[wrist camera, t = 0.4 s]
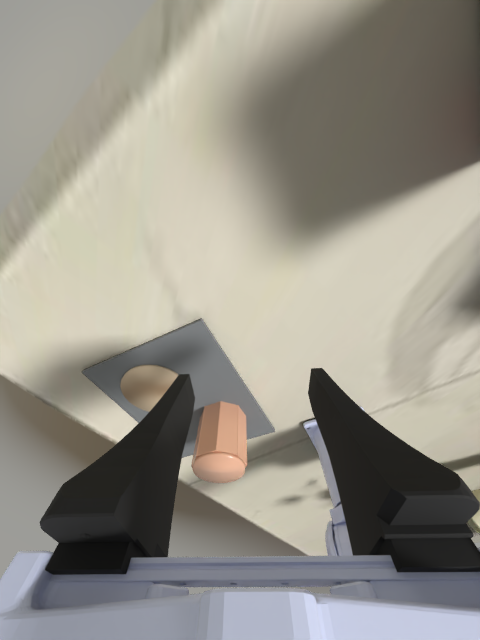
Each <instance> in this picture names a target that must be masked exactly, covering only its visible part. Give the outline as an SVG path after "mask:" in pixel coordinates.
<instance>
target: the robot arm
mask: <svg viewBox="0 0 480 640" xmlns="http://www.w3.org/2000/svg"><path fill="white" fill-rule="evenodd" d="M308 394H309V399H310V403H311V407H312V411H313V414H314V416H315V419H314V420H311V421H307V422H305V423H304V424H303V425H304V428H305V430H306V432H307V434H308V435H309V437H310V439H311V441H312V443H313V445H314V446H315V448H316V450H317V452H318V455H319V459H320V462H321V465H322V469H323V472H324V476H325V479H326V483H327V486H328V489H329V493H330V496H331V500H332V503H333V506H334V509H330V514H331V518H332V521H329V522H328V524H327V530H326V535H325V539H326V547H327V553H328V556H260V557H259V556H257V557H168V548H169V539H170V530H171V523H172V515H173V508H174V501H175V493H176V487H177V481H178V475H179V469H180V463H181V458H182V454H183V450H184V446H185V442H186V439H187V435H188V431H189V427H190V423H191V420H192V416H193V410H194V403H195V395H194V391H193V387H192V383H191V379H190V374H179V375H178V376H177V378H176V379H175V380H174V382H173V383H172V385H171V386H170V387H169V388H168V390H167V391H166V392H165V394H164V395H163V396H162V397H161V399H160V400H159V401H158V402H157V404H156V405H155V406H154V407H153V408H152V409H151V411H150V412H149V413H148V414H147V415H146V416H145V417H144V418H143V419H142V421H141V422H140V423H139V424H138V425H137V426H136V427H135V428H134V429H133V430H132V431H131V432H130V433H128V434H127V435H126V436H125V437H124V438H123V439H122V440H121V441H120V442H118V443H117V444H116V445H115V446H114V447H113V448H112V449H110V450H109V451H108V452H107V453H105V454H104V455H103V456H102V457H100V458H99V459H98V460H96V461H95V462H94V463H93V464H91V465H90V466H88V467H87V468H86V469H84V470H83V471H82V472H80V473H78V474H77V475H76V476H74V477H73V478H71V479H70V480H69V481H67V482H65V483H64V484H63V485H62V487H61V488H60V490H59V491H58V493H57V494H56V496H55V498H54V499H53V501H52V503H51V504H50V506H49V507H48V509H47V511H46V512H45V514H44V516H43V517H42V519H41V521H40V526H41V529H42V530H43V531H44V532H46V533H47V534H48V535H49V536H51V537H52V538H53V539H55V540H56V541H57V542H59V544H58V546H57V548H56V549H55V551H54V553H53V552H49V551H19V552H18V553H17V554H16V555H15V557H14V558H13V560H12V561H11V563H10V565H9V566H8V568H7V569H6V571H5V573H4V574H3V576H2V577H1V579H0V640H480V547H479V548H477V547H476V546H475V544H474V543H473V541H472V540H471V538H472V537H473V533H472V532H471V530H470V529H469V527H468V526H467V524H466V522H468V521H469V520H470V519H471V518H472V517H473V516H474V515H475V514H476V513H477V512H478V510H479V508H480V502H479V501H478V500H477V498H476V497H475V496H474V494H473V493H472V492H471V490H470V489H469V488H468V486H467V485H466V484H465V482H464V481H463V480H462V479H461V478H460V477H459V475H458V474H456V473H455V472H453V471H451V470H449V469H448V468H446V467H444V466H442V465H441V464H439V463H437V462H435V461H434V460H432V459H430V458H429V457H427V456H425V455H424V454H422V453H421V452H419V451H417V450H416V449H414V448H413V447H411V446H410V445H408V444H407V443H405V442H404V441H402V440H401V439H399V438H398V437H397V436H395V435H394V434H392V433H391V432H389V431H388V430H387V429H385V428H384V427H383V426H381V425H380V424H379V423H378V422H376V421H375V420H374V419H373V418H371V417H370V416H369V415H368V414H367V413H366V412H365V411H364V409H363V408H362V407H359V406H358V405H357V404H356V403H355V402H354V401H353V400H352V399H351V398H350V397H349V396H348V395H347V394H346V393H345V392H344V391H343V390H342V389H341V388H340V387H339V386H338V385H337V384H336V383H335V382H334V381H333V380H332V379H331V377H330V376H329V375H328V374H327V373H326V372H325V371H324V370H323V369H322V368H314V369H311V375H310V383H309V391H308ZM296 586H297V587H315V586H316V587H317V586H318V587H321V586H322V587H323V586H332V587H331V589H330V593H331V594H321V593H311V592H310V591H308V590H304V589H298V588H219V589H211V590H208V591H205V592H204V593H200V594H190V595H189V591H188V589H187V588H182V587H296Z"/></svg>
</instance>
